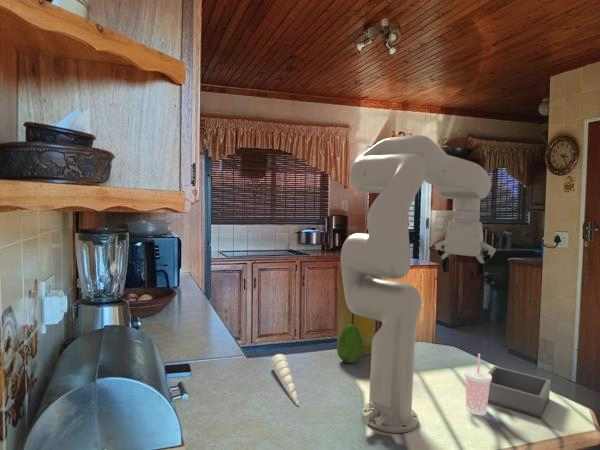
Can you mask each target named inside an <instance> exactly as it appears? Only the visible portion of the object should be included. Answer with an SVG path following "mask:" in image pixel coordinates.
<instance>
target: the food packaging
mask: <svg viewBox="0 0 600 450" xmlns="http://www.w3.org/2000/svg"><path fill="white" fill-rule="evenodd" d="M339 276H340V277H339V299H338V300H339V301H338V314H337V315H338V318H337V322H338V323H337V337H336V343H337V342H338V339H339V337H340V334H341V333H342V331H343V329H344V327H345V326H346V325H348V324H352V325H354V326H356V327H357V329H358V330H359V333H360V336H361V339H362V344H363V350H362V353H361V356H369V355H370V356H371V347H372V339H373V337H374V335H375V334H376V327H377V320H374V319H370V318H366V317H362V316H359V315H356V314H354V313H352V312H351V311H350V310H349V308H348V307H347V304H346V300H345V293H344V285H343V277H342V272H340V274H339ZM371 277H372V278H374V276H371Z"/></svg>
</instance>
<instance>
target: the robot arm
mask: <svg viewBox="0 0 600 450" xmlns="http://www.w3.org/2000/svg"><path fill="white" fill-rule="evenodd" d="M349 178H350V182H351V184H352V186H353V188H354V189H356V190H357V191H358V192H361V193H365V194H366V193H367V194H378V195H377V197H376V198H375V199H374V200H373V202H372V204H371V206H370V208H369V210H368V212H367V213H368V214H367V229H368V231H367V232H368V233H365V232H356V233H353V234H351V235H349V236H347V237H346V239H345V241H344V242H343V244H342V247H341V249H340V268H341V273H342V277H343V285H344V293H345V300H346V304H347V307H348V308H349V310H350V311H351V312H352V313H354V314H356V315H359V316H362V317H366V318H370V319H374V320H376V322H377V321H378V322H381V323H382V325H381V326H380V327H379V329H378V330H377V331H375V335H374V337H373V339H372V347H371V355H370V373H369V375H370V376H369V394H368V395H369V399H368V403H366V404H364V406H363V407H362V410H361V417H360V420H361V422H362V423H363V424H364V425H369V426H370V427H372V428H374V429H377V430H379V431H382V432H386V433H391V434H394V433H395V434H401V433H402V434H403V433H407V432H408V433H409V432H410V431H412V430H414V429H416V428H417V426H418V425H419V417H418V414H417V413H416V412H415V411H414V410H413V409H412V408H413V407H412V405H413V404H412V403H413V384H414V366H415V365H414V364H415V348H416V347H415V346H416V334H417V328H418V321H419V318H420V314H421V310H422V295H421V294H420V291H419V290H418V289H417V288H416V287H415V286H413V285H411V284H408V283H406V282H403V281H396V280H397V279H402V278H404V277H406V276H407V275H408V274H409V272H410V268H411V262H412V261H411V244H410V233H409V213H410V208H411V206H412V204H413V202H414V199H415V197H416V196H417V193H419V190H420V189H421V186H422V185H423V184H424V182H425V183H427V184H429V185H433V186H435V191H436V193H437V195H438V196H439V197H441V198H443V199H446V200H447V199H451V200H452V210H451V211H450V212H447V217H449V218H451V220H448V225H447V228H446V233H445V239H443V240H440V241H438V242H436V243H434V248H435V250H436V252H437V255H439V257H440V259H442V264H441V269H442V270H443V271H442V272H443V273H448V272H449V271H450V258H449V257H450V256H452V255H455V256H456V255H458V256H466V257H475V258H476V259H477V261H478V262H477V268H476V276H477V278H481V277H483V275H484V274H485V264H486V263H487V262H488V261H489V260H490V259H491V258H492V257H493V256H494V254H495V253H496V251H497V249H496V248H495V247H493V246H492V245H489V244H488V243H487V242H484V232H483V231H484V230H483V224H482V222H480V215H481V214H480V213H481V212H480V211H481V201H482V199H484V198H486V197H487V196H488V195H489V194H490V191H491V189H492V183H491V178H490V176H489V174H488V172H487V171H486V170H485V169H484V167H483V166H481V165H480V164H478V163H476V162H473V161H470V160H467V159H463V158H461V157H456V156H453V155H449V154H447V152H445V151H444V150H443V149H442V148H441V147H440V146H439V145H438V144H436V142H435V141H433V140H432V139H431V138H429V137H428V136H426V135H422V134H420V135H419V134H415V135H413V134H412V135H404V136H394V137H393V136H392V137H388V138H384V139H382V140H380V141H378V142H377V143H376V144H374V145H373V146H371V147H369V149H367V150H366V151H364V152H363V153H362V154H360V155H359V156H357V158H356V159H355V160H354V161H353V163H352V165H351V168H350V173H349ZM442 246H444V250H443V249H442ZM484 249H485V250H486V251H488V252H487V253H486V255H485V256H484V255H483V252H484ZM372 277H373V278H372Z"/></svg>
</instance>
